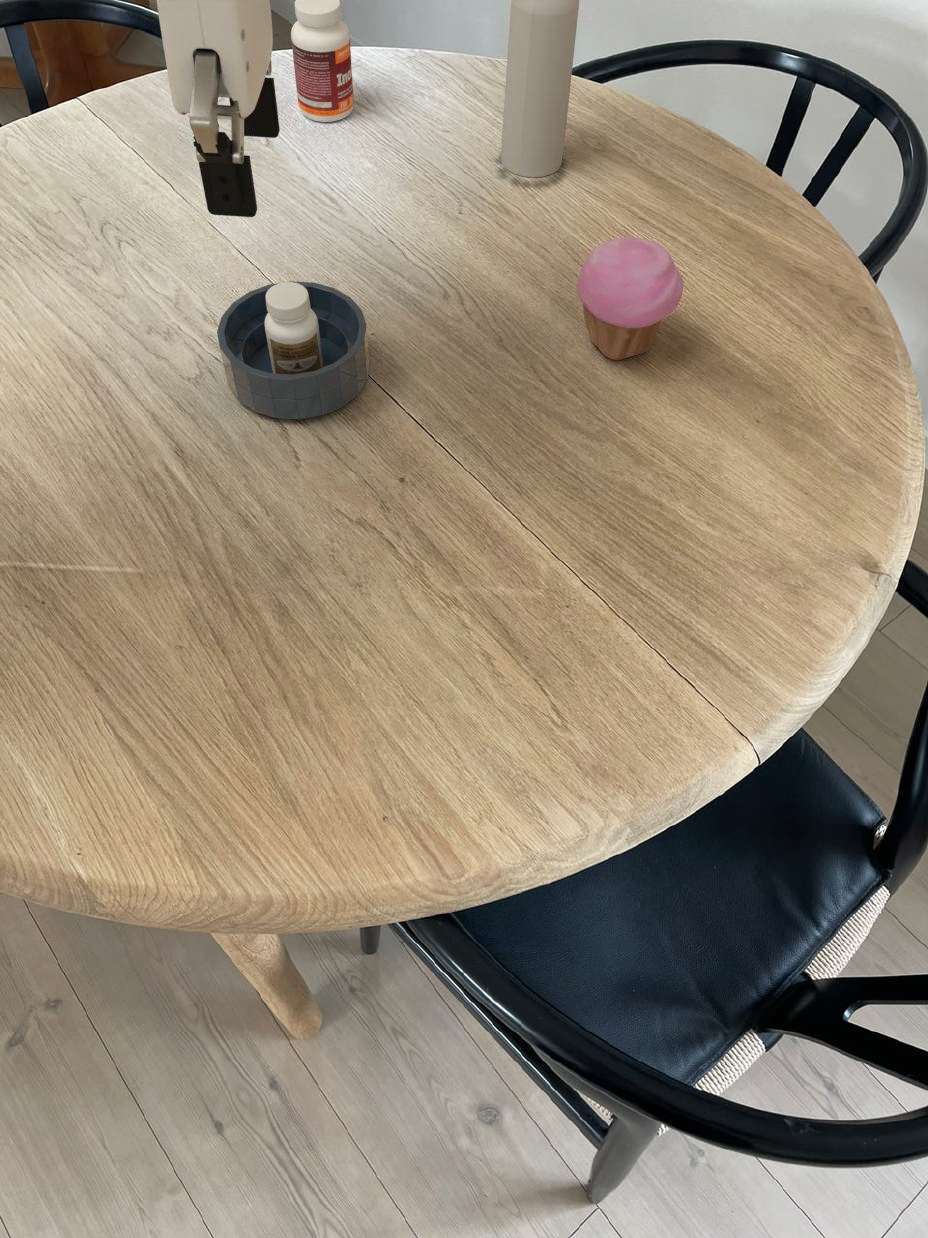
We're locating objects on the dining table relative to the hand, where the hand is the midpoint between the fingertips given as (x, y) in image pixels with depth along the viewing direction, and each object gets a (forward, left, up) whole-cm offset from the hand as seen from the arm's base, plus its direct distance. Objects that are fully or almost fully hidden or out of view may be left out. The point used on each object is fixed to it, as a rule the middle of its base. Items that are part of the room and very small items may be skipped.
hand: (246, 172), depth 68 cm
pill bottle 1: (-2, +45, -20) cm, 49 cm away
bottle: (+21, +37, -20) cm, 47 cm away
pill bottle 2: (+1, +2, -19) cm, 19 cm away
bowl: (+1, +2, -20) cm, 20 cm away
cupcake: (+29, +8, -20) cm, 36 cm away
